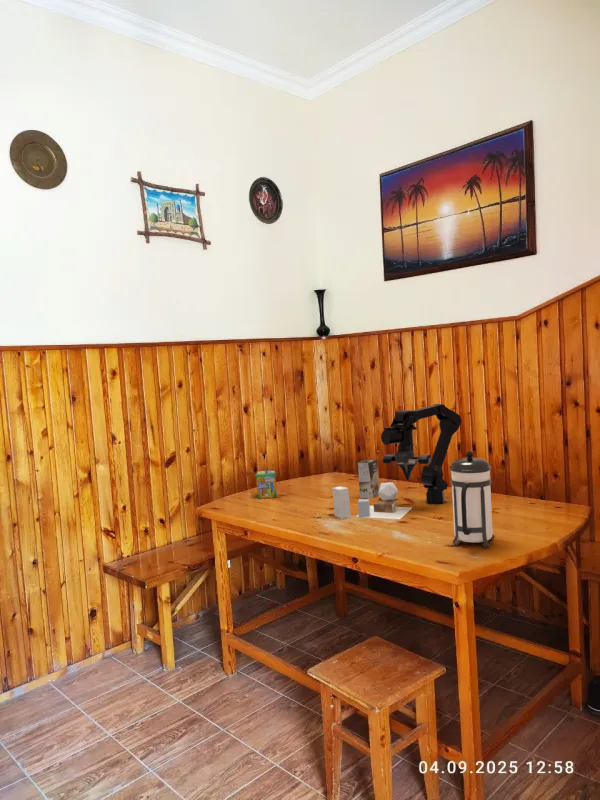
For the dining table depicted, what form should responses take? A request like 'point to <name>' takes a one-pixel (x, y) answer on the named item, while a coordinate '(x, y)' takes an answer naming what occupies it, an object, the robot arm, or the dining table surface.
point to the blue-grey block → (364, 508)
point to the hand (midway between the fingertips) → (407, 480)
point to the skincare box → (341, 502)
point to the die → (387, 491)
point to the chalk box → (266, 484)
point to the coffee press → (471, 500)
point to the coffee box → (368, 478)
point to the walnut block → (385, 506)
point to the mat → (396, 515)
